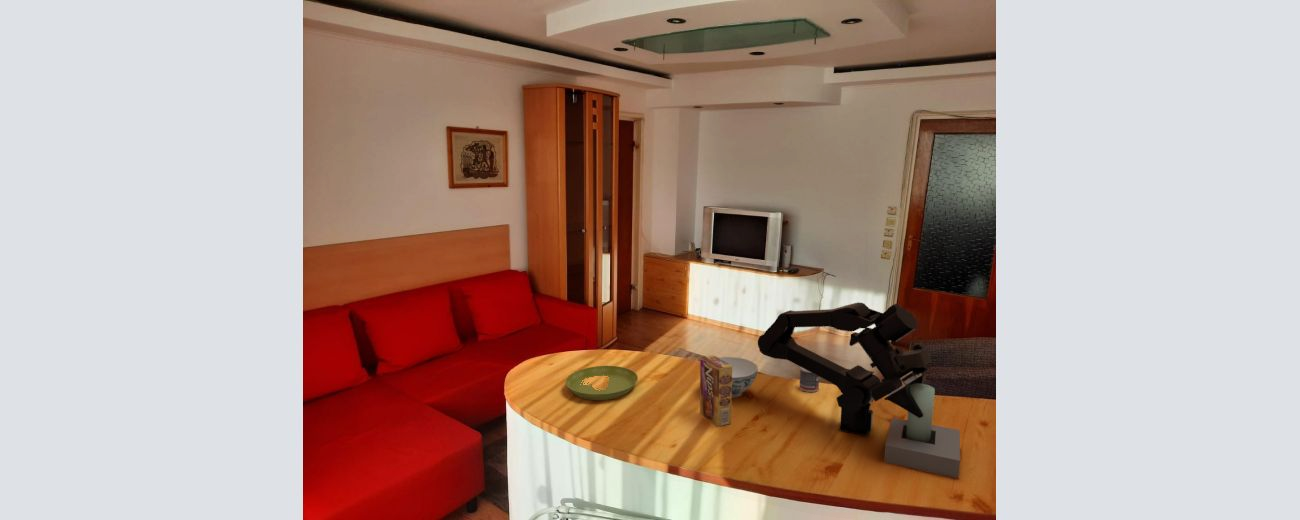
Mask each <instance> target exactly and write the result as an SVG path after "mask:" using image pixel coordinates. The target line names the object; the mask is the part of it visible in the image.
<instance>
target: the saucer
mask: <svg viewBox="0 0 1300 520" xmlns="http://www.w3.org/2000/svg"><path fill="white" fill-rule="evenodd" d="M603 375H604V376H608V377H609V380H610V381H608V382H609V383H608V382H607V383H608V387H606V388H605V389H606V390H605V389H604V390H602V389H601V390H600V389H599V390H600V391H599V390H595V389H594V388H593V387H592V384H591V385H590V384H589V385H590V386H588V385H583V382H584V381H583V382H582V380H584V379H585V378H589V377H594V376H603ZM638 376H639V375H638V374H637V373H636V372H635V371H634V370H632V369H630V368H627V367H624V366H617V365H598V366H597V365H595V366H589V367H586V368H581V369H579V370H577V371H574V372H572V373H571V374H570V375H568V376H567V377H566V379H565V385H566V387H567V389H569V391H570V392H571V393H572V394H574V396H577V397H579V398H582V399H585V400H588V399H589V401H608V399H609V400H613V399H617V397H618V398H620V397H622V396H625V395H626V394H628V393H629V392H630V391H631V390H632V389H633V388H634V387H635V385H636V384H637V382H638V381H639V377H638ZM608 377H607V378H608ZM581 382H582V383H581ZM588 383H589V382H588ZM588 383H587V384H588ZM580 384H581V385H580ZM584 384H585V383H584ZM603 388H604V387H603ZM597 389H598V388H597Z"/></svg>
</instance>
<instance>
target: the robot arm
mask: <svg viewBox="0 0 1300 520" xmlns="http://www.w3.org/2000/svg"><path fill="white" fill-rule="evenodd" d="M873 325H874V327H873V328H871V326H873ZM820 327H822V328H823V327H825V328H826V327H828V328H833V329H835V330H837V331H838V330H839V331H843V332H853V333H851V334H850V340H849V346H850V347H852V346H854V345H856V344H859V346H861V348H862V349H863V351H864V352H865V354H866V355H867V357H868V358H869V359H870V361H871V363H869V365H870V367H871V368H872V369H873V368H874V369H875V368H876V369H877V370H878V371H879V373H880V374H881V375H882V377H883V379H880V378H879V377H878V376H877V375H875V374H874V373H875V372H874V371H872V370H871V371H870V370H868V369H866V368H864V367H863V366H861V365H855V366H853V367H852V368H846V367H843V366H842V365H839V364H838V363H836V362H834V361H832V360H830V359H828V358H826V357H824V356H821V355H819V354H817V353H815V352H813V351H812V350H809V349H807V348H805V347H803V346H801V345H799V344H798V343H797V342H796V340H795V338H794V337H793V336H792V335H793V334H794V331H795V328H820ZM917 328H918V321H917V319H916V318H915V316H914V315H913V314H912V313H911V312H909V310H907V309H905V308H903V307H901V306H900V305H899V304H898V303H894V304H892V305H891V306H889V307H888V308H887V309H886V310H885V311H884V312H883V313H882V312H880V311H877V310H874V309H872V308H869V307H868V306H867V305H866V304H865V303H863V302H854V303H850V304H846V305H842V306H840V307H836V308H830V309H828V308H827V309H812V310H787V311H785V312H782V313H780V314H779V315H778V316H777V317H776V319H775V321H774V322H773V323H772V324H771V325H770V326H769V327H768V328H767V329H766V330H765V332H763V334H761V335H760V336H759V337H758V338H757V339H758V340H757V347H758V350H759V352H760V353H761V354H762V355H764V356H766V357H770V358H772V359H776V360H783V361H784V360H785V361H788V362H791V363H792V364H794V365H796V366H798V367H799V368H800V367H802V368H804V369H806V370H808V371H810V372H811V373H813V374H815V375H817V376H819V378H821V379H823V380H825V381H827V382H829V383H831V384H833V385H834V386H836V387H837V388H838V390H839V391H840V393H841V394H840V395H838V396H837V397H836V402H837V406H838V407H840V408H841V409H840V424H839V427H838V431H841V432H847V433H851V434H856V435H859V436H865V437H867V436H868V435H869V431H872V429H873V428H872V427H873V416H874V411H873V410H872V409H871V405H872V404H871V402H875V403H876V402H878V401H879V400H881V399H882V398H884V399H883V400H885V401H889V402H891V403H893V404H894V405H897V406H898V407H900V408H902V409H904V410H905V411H907V413H908V412H910V413H912V414H913V415H915V416H917V417H918V418H921V417H923V413H922V411H921V410H920V408H919V406H918V405H917V403H916V401H915V400H914V398H913V397H912V395H911V393H910V386H911V385H912V384H917V383H919V384H926V379H927V376H928V372H926V371H928V370H930V369H931V368H932V367H933V366H932V364H931V363H932V360H931V357H930V355H932V350H930V349H929V347H927V346H926V344H924V343H923V342H919V343H916V344H913V346H912V349H910V350H909V351H903V349H902V348H901V347H899V346H898V347H894V346H893V344H892V343H893V342H894V343H896V342H898V341H900V340H901V339H903V338H904V337H906V336H907V335H909V334H910V333H912V332H913V331H915V330H916V329H917ZM859 329H862V330H861V331H860V332H855V331H857V330H859ZM890 341H891V342H892V343H891V342H890ZM924 372H925V373H924ZM922 373H923V374H922ZM934 408H935V407H934V406H933V409H934Z"/></svg>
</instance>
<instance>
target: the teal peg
mask: <svg viewBox="0 0 1300 520" xmlns="http://www.w3.org/2000/svg"><path fill="white" fill-rule="evenodd" d="M935 392H936V390H935V387H933V386H932V385H929V384H926V383H925V384H919V383H917V384H912V385H911V386H910V393H911V395H912V397H913V398H914V400H915V401H916V403H917V405H918V406H919V408H920V410H921V411H922V413H923V417H921V418H918V417H917V416H915V415H913V414H912V413H910V412H908V411H907V419H906V420H907V432H906V438H907V439H909V440H914V441H919V442H924V443H929V442H930V436H931V425H933V414H934V413H933V412H934V408H933V407H934V404H935V403H934V402H935Z"/></svg>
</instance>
